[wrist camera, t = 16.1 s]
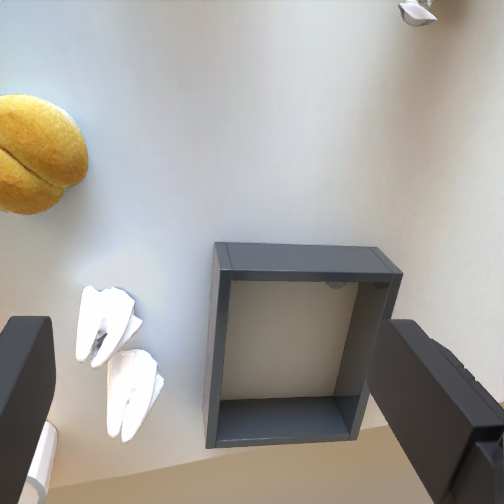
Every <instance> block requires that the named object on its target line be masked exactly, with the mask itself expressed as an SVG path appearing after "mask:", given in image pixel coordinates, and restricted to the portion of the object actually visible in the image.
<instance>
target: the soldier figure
mask: <svg viewBox="0 0 504 504" xmlns="http://www.w3.org/2000/svg"><path fill="white" fill-rule="evenodd" d="M432 1H434V0H418V2H419V3H423V4H424V3H425V5H426V3H428V5H429V7H430V8H431V5H432ZM398 7H399V9H400V11H401V16H402V18H403V21H405V22H406V23H407V24H408V25H410V26H413V27H415V26H423V25H428V24H430V23H432V22H435V21H437V20H438V19H437V18H435V17H434V16H433V15H432V14H431V13H429V11H428V10H427V9H425V8H423V7H421V6H420V5H419V4H418V3H417V0H407V1H406V2H405V4H401V3H399V4H398Z"/></svg>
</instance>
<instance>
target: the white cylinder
mask: <svg viewBox="0 0 504 504" xmlns="http://www.w3.org/2000/svg"><path fill="white" fill-rule="evenodd" d="M57 439H58V435H57V431H56V429H55V428H54V427H53V425H52V424H51V423H49V422H47V421H45V424H44V427H43V430H42V433H41V436H40V439H39V442H38V445H37V448H36V451H35V454H34V457H33V460H32V463H31V466H30V469H29V472H28V475H27V478H26V481H25V484H24V487H23V490H22V493H21V496H20V499H19V502H18V504H44V503H45V500H46V498H47V493H48V488H49V483H50V477H51V472H52V466H53V461H54V455H55V450H56V445H57Z"/></svg>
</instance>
